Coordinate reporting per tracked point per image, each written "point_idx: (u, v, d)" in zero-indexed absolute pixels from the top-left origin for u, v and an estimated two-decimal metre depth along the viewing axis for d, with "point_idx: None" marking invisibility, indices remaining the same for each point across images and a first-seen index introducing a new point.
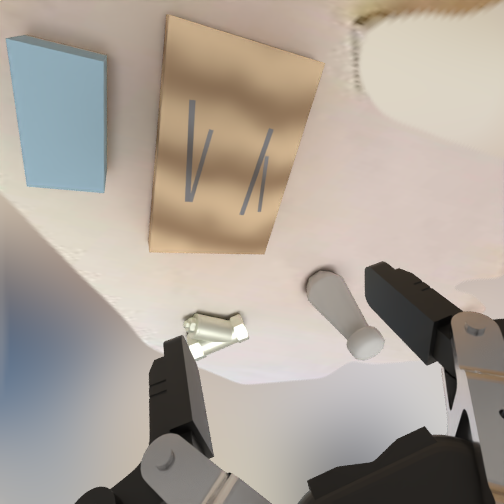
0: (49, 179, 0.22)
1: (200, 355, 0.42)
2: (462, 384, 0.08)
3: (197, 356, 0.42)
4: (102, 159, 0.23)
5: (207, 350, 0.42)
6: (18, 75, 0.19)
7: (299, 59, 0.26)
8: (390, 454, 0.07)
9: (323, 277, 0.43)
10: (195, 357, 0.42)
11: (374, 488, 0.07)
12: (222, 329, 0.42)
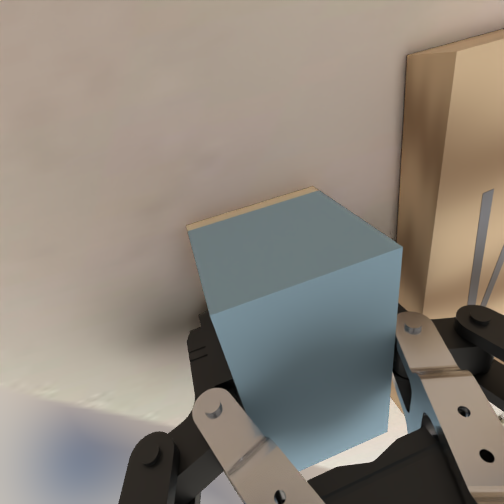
0: (304, 459, 0.12)
1: None
2: (417, 387, 0.08)
3: None
4: (388, 394, 0.11)
5: None
6: (242, 360, 0.08)
7: None
8: (390, 454, 0.07)
9: None
10: None
11: (374, 488, 0.07)
12: None
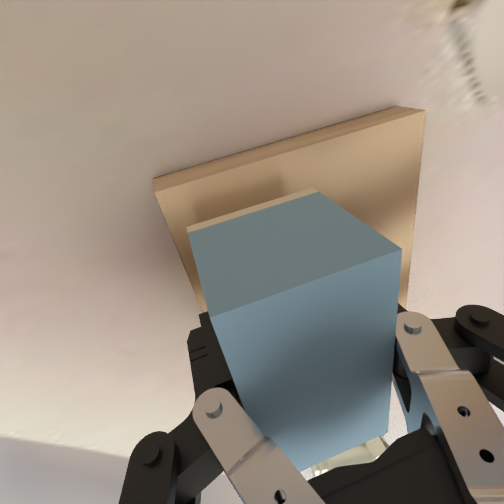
0: (305, 460, 0.12)
1: None
2: (417, 387, 0.08)
3: None
4: (388, 395, 0.11)
5: None
6: (242, 362, 0.08)
7: (379, 130, 0.14)
8: (390, 454, 0.07)
9: None
10: None
11: (374, 488, 0.07)
12: None
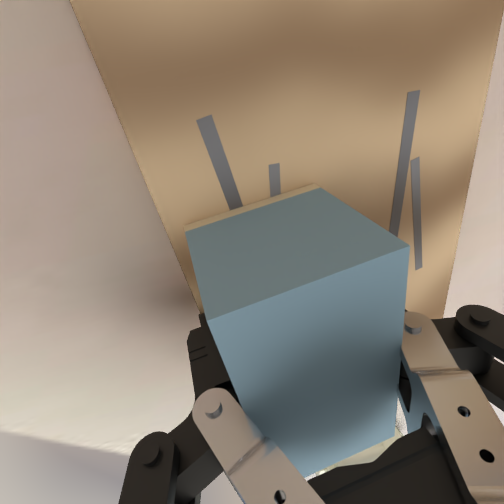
0: (309, 466, 0.11)
1: None
2: (417, 387, 0.08)
3: None
4: (395, 398, 0.11)
5: None
6: (242, 366, 0.08)
7: None
8: (390, 454, 0.07)
9: None
10: None
11: (374, 488, 0.07)
12: None
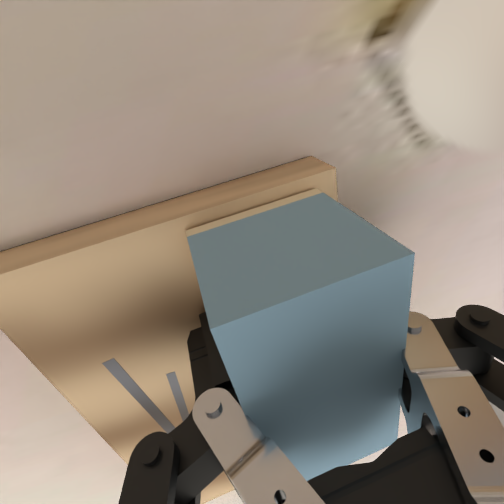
0: (311, 472, 0.11)
1: None
2: (417, 387, 0.08)
3: None
4: (398, 405, 0.11)
5: None
6: (245, 374, 0.08)
7: (275, 194, 0.11)
8: (390, 454, 0.07)
9: None
10: None
11: (374, 488, 0.07)
12: None
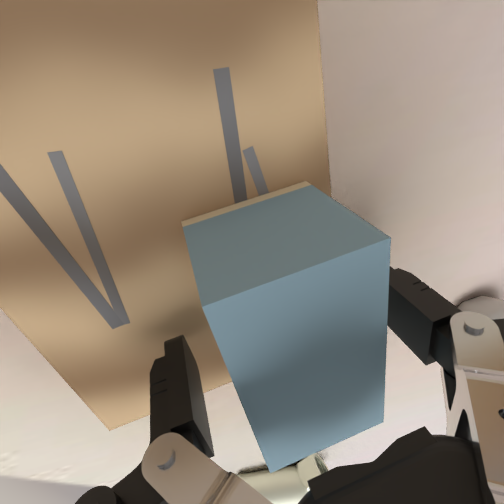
0: (301, 449, 0.12)
1: None
2: (461, 384, 0.08)
3: None
4: (382, 384, 0.11)
5: None
6: (235, 350, 0.08)
7: None
8: (390, 454, 0.07)
9: None
10: None
11: (374, 488, 0.07)
12: (288, 497, 0.24)
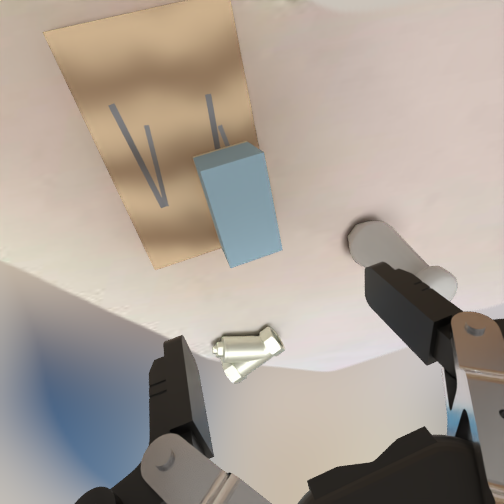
0: (244, 256, 0.27)
1: (238, 377, 0.40)
2: (462, 384, 0.08)
3: (235, 379, 0.40)
4: (276, 225, 0.27)
5: (243, 371, 0.40)
6: (212, 192, 0.24)
7: (196, 3, 0.22)
8: (390, 454, 0.07)
9: (360, 230, 0.36)
10: (233, 381, 0.40)
11: (374, 488, 0.07)
12: (252, 346, 0.40)
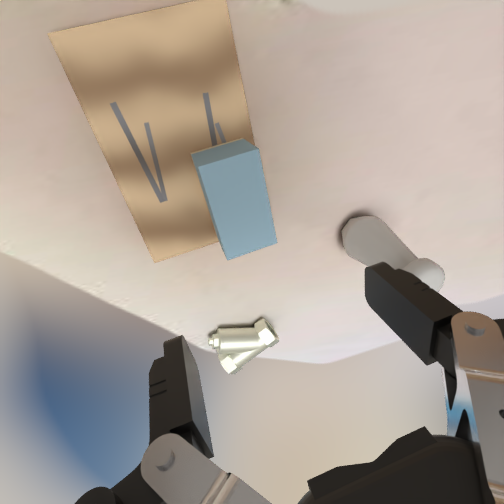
0: (240, 249, 0.29)
1: (233, 368, 0.41)
2: (462, 384, 0.08)
3: (231, 370, 0.41)
4: (271, 218, 0.28)
5: (239, 362, 0.41)
6: (209, 187, 0.25)
7: (194, 5, 0.23)
8: (390, 454, 0.07)
9: (353, 224, 0.37)
10: (229, 371, 0.41)
11: (374, 488, 0.07)
12: (247, 338, 0.41)
